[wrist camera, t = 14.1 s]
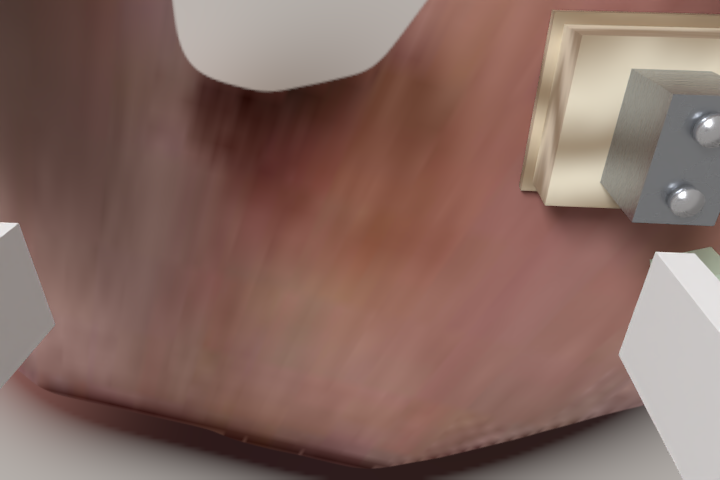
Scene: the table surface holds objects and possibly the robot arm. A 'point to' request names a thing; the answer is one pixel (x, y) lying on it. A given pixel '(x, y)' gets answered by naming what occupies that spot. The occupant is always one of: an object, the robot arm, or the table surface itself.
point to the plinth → (600, 91)
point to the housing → (667, 148)
